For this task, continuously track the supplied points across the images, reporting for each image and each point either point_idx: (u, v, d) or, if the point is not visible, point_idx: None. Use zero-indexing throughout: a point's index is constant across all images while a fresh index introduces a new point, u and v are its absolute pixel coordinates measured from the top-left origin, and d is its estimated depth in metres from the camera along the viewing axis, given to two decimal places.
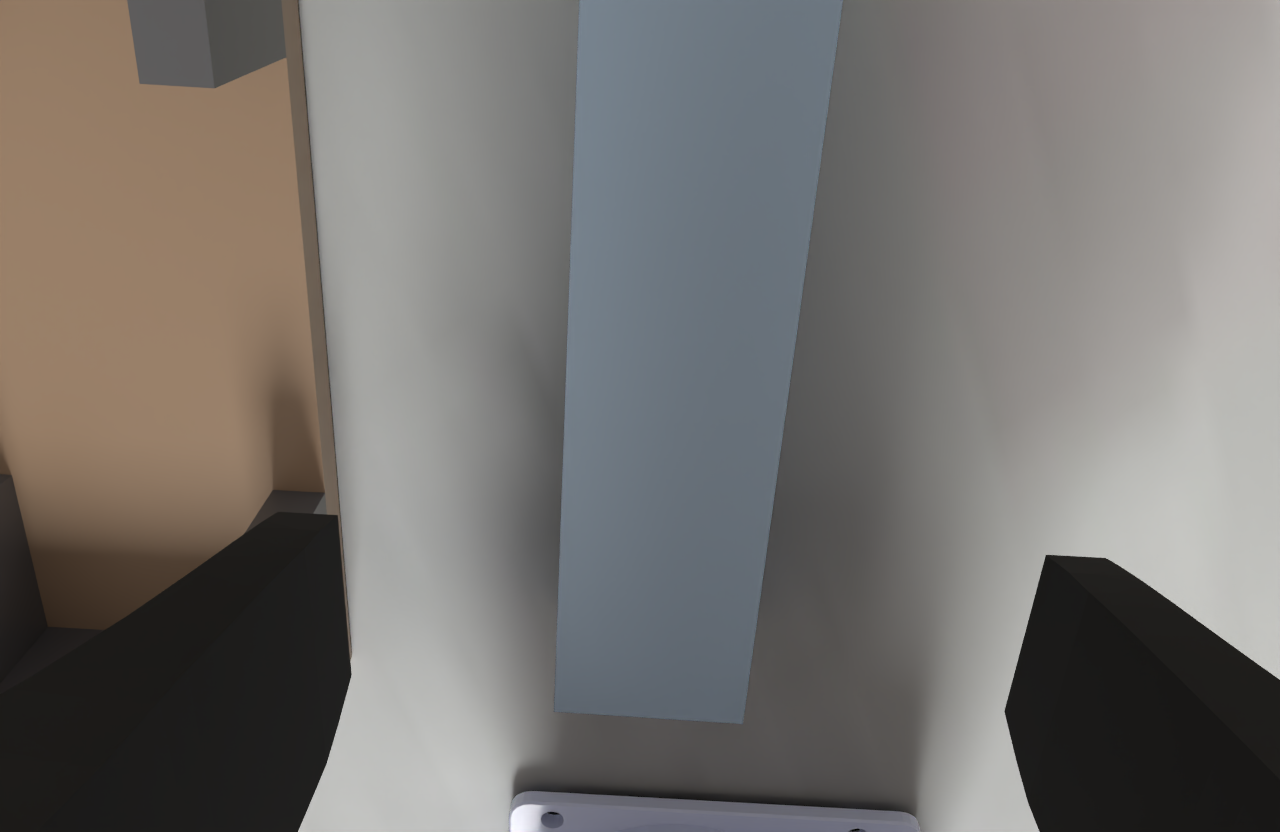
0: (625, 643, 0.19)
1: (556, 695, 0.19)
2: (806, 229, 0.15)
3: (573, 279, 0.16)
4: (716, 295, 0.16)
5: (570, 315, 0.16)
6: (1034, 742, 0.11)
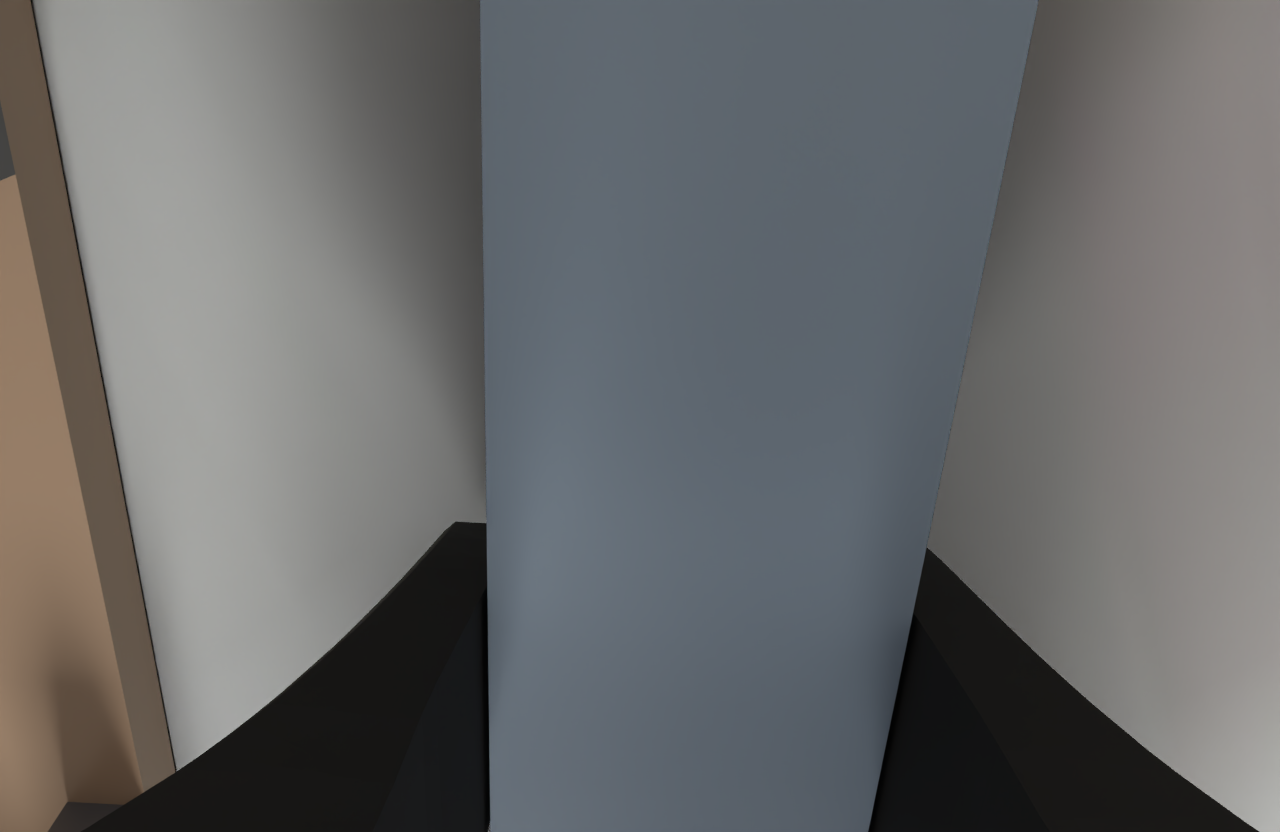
0: None
1: None
2: (923, 517, 0.08)
3: (494, 599, 0.09)
4: (754, 622, 0.09)
5: (492, 653, 0.09)
6: None
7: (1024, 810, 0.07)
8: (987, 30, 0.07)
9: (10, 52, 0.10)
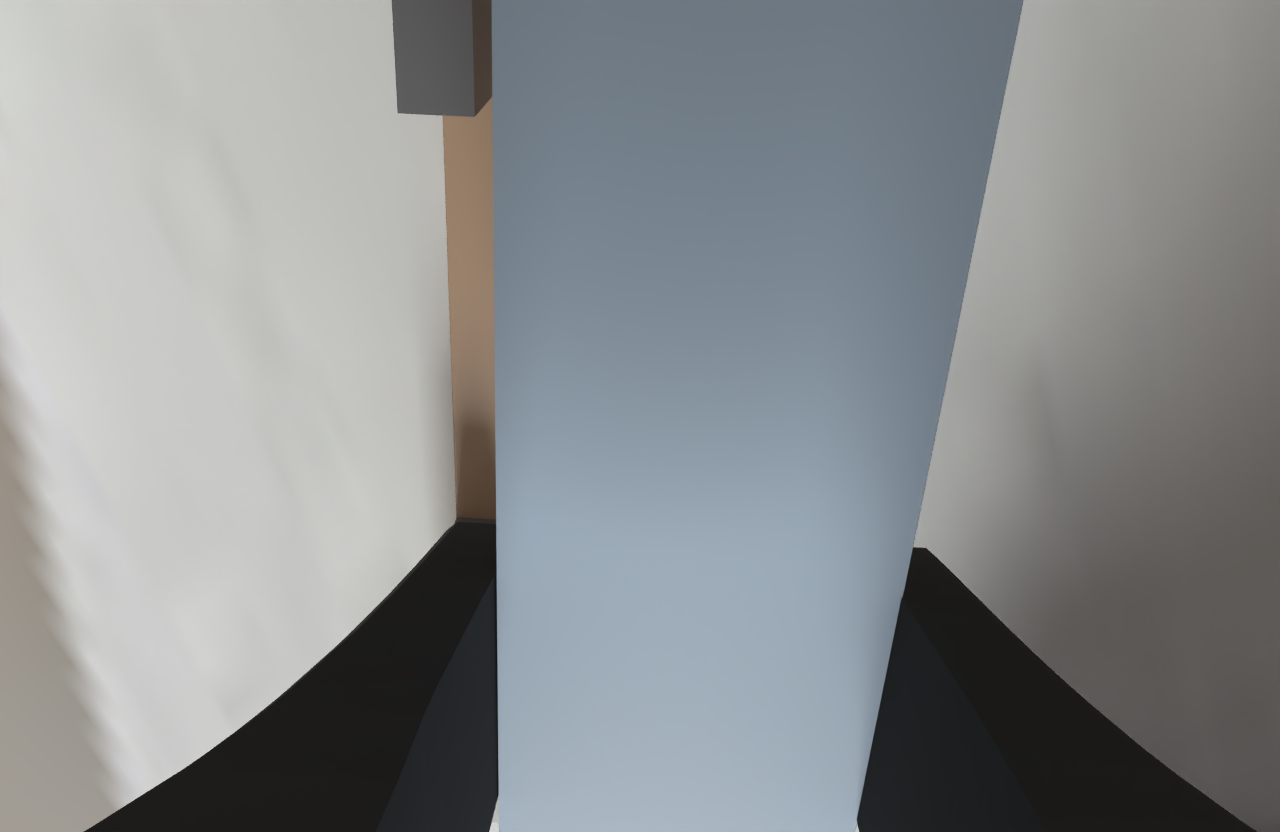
0: None
1: None
2: (914, 498, 0.09)
3: (503, 577, 0.09)
4: (753, 599, 0.09)
5: (501, 629, 0.09)
6: None
7: (1022, 809, 0.07)
8: (974, 35, 0.07)
9: None
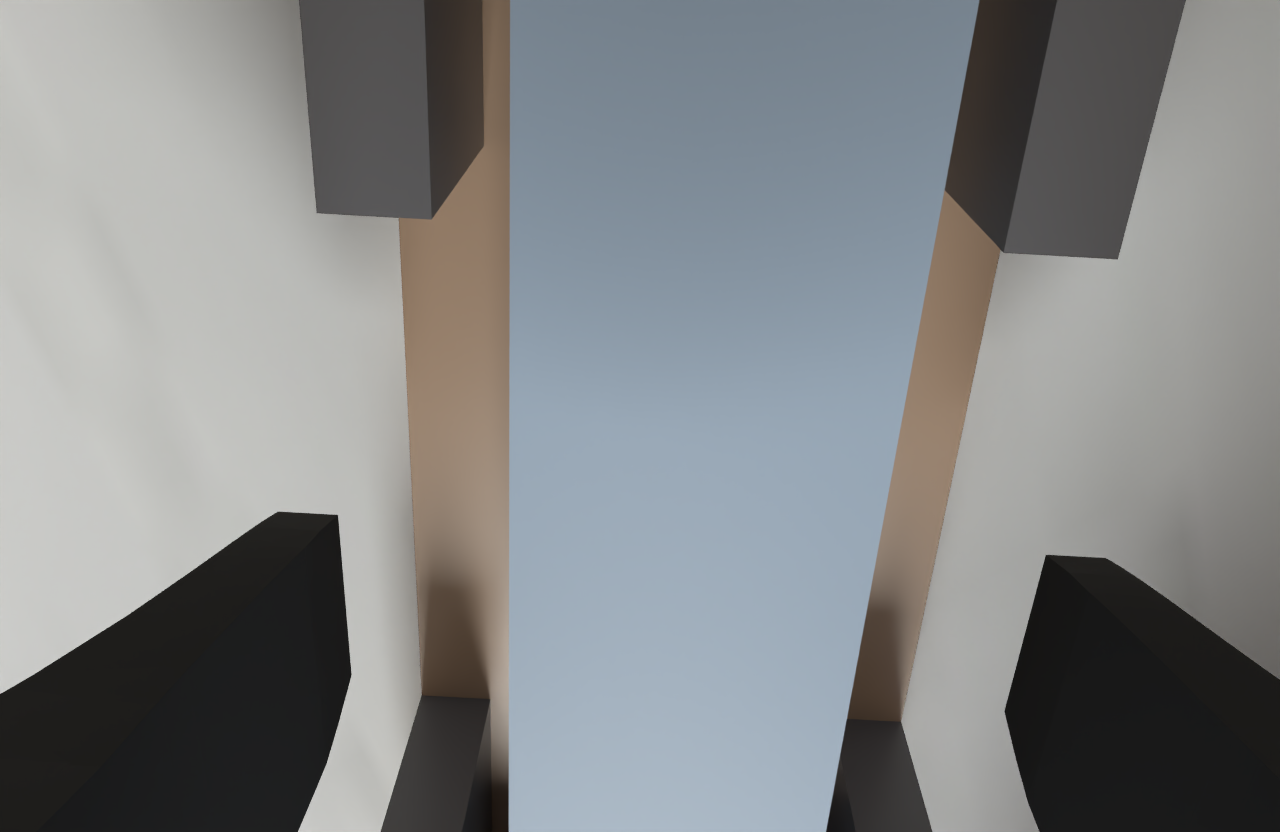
0: None
1: None
2: (890, 441, 0.10)
3: (515, 515, 0.10)
4: (743, 536, 0.10)
5: (513, 565, 0.10)
6: (1035, 742, 0.11)
7: None
8: (938, 15, 0.08)
9: None
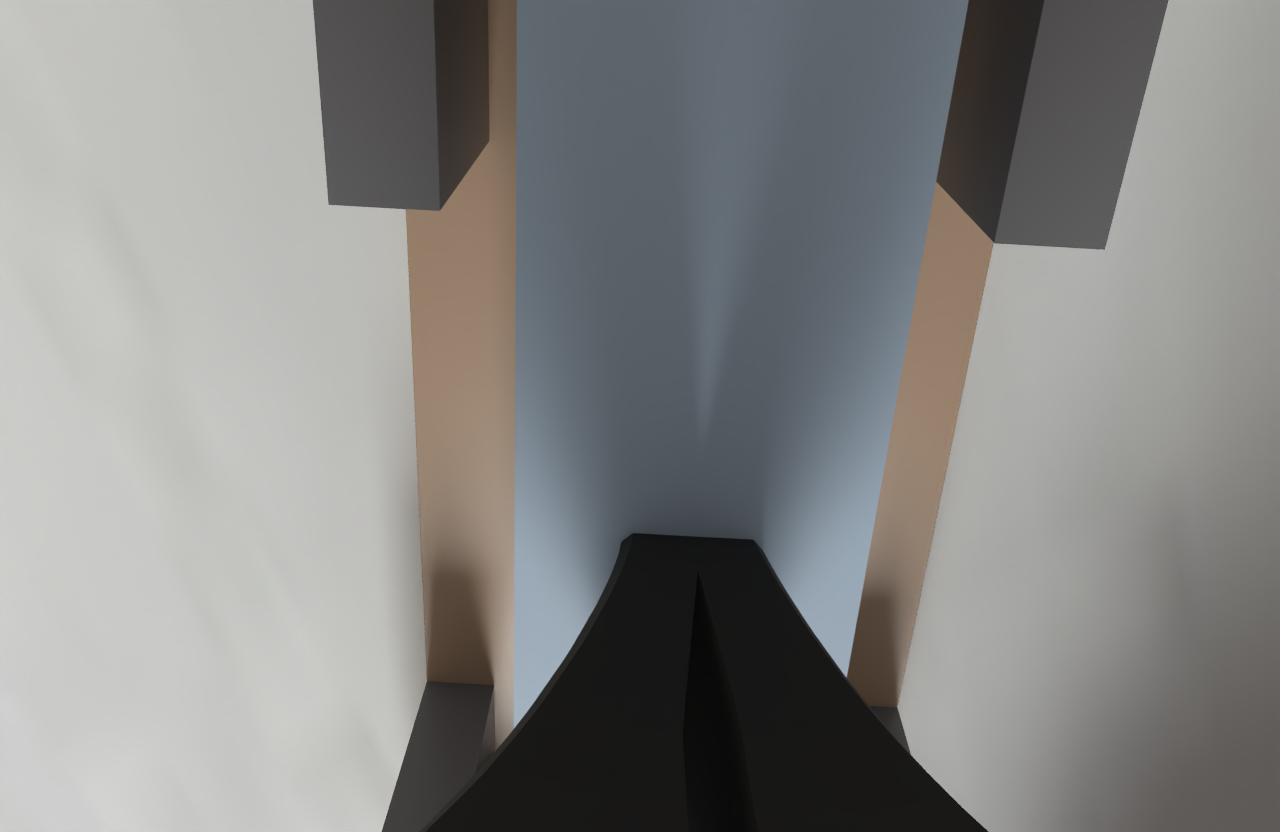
0: None
1: None
2: (884, 426, 0.10)
3: (520, 498, 0.10)
4: (742, 519, 0.10)
5: (518, 548, 0.11)
6: None
7: (747, 794, 0.07)
8: (930, 12, 0.08)
9: None
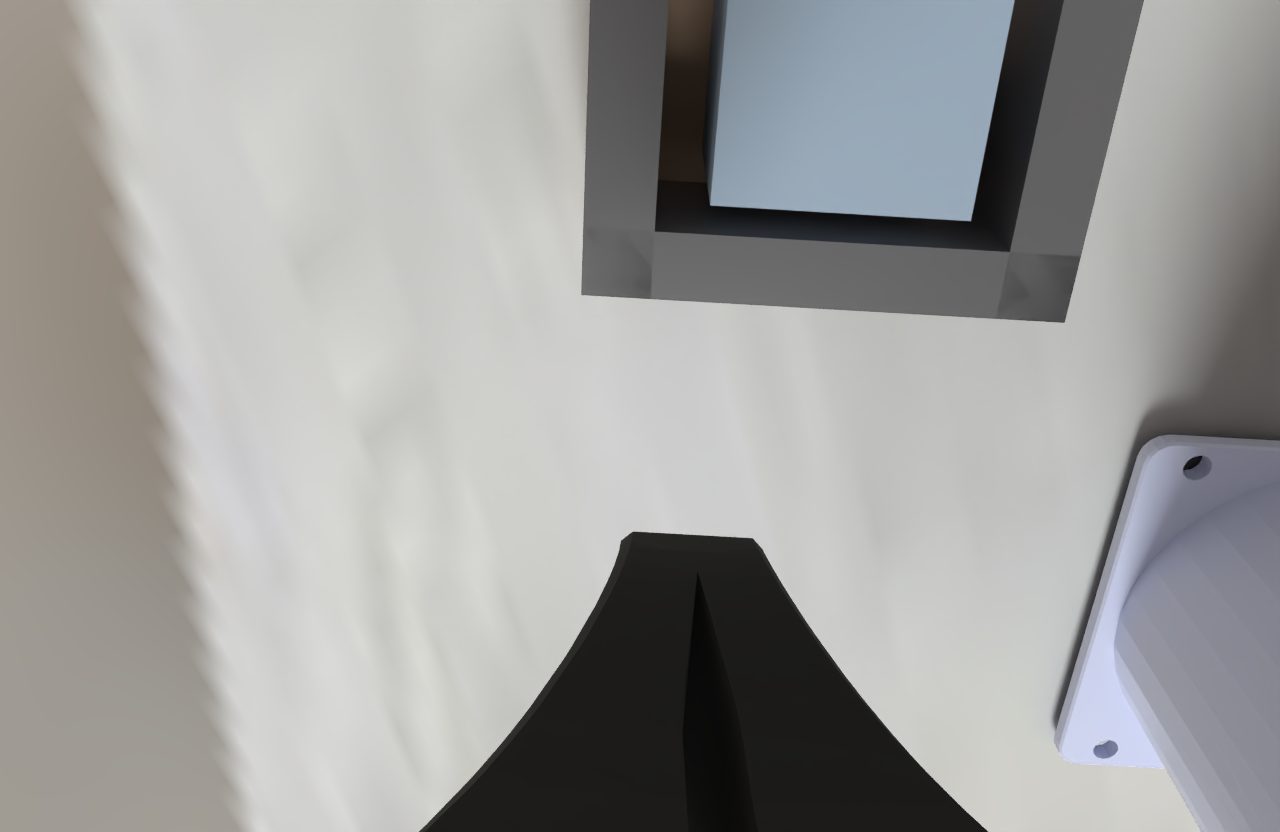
0: (818, 81, 0.13)
1: (715, 175, 0.14)
2: None
3: None
4: None
5: None
6: None
7: (747, 794, 0.07)
8: None
9: None
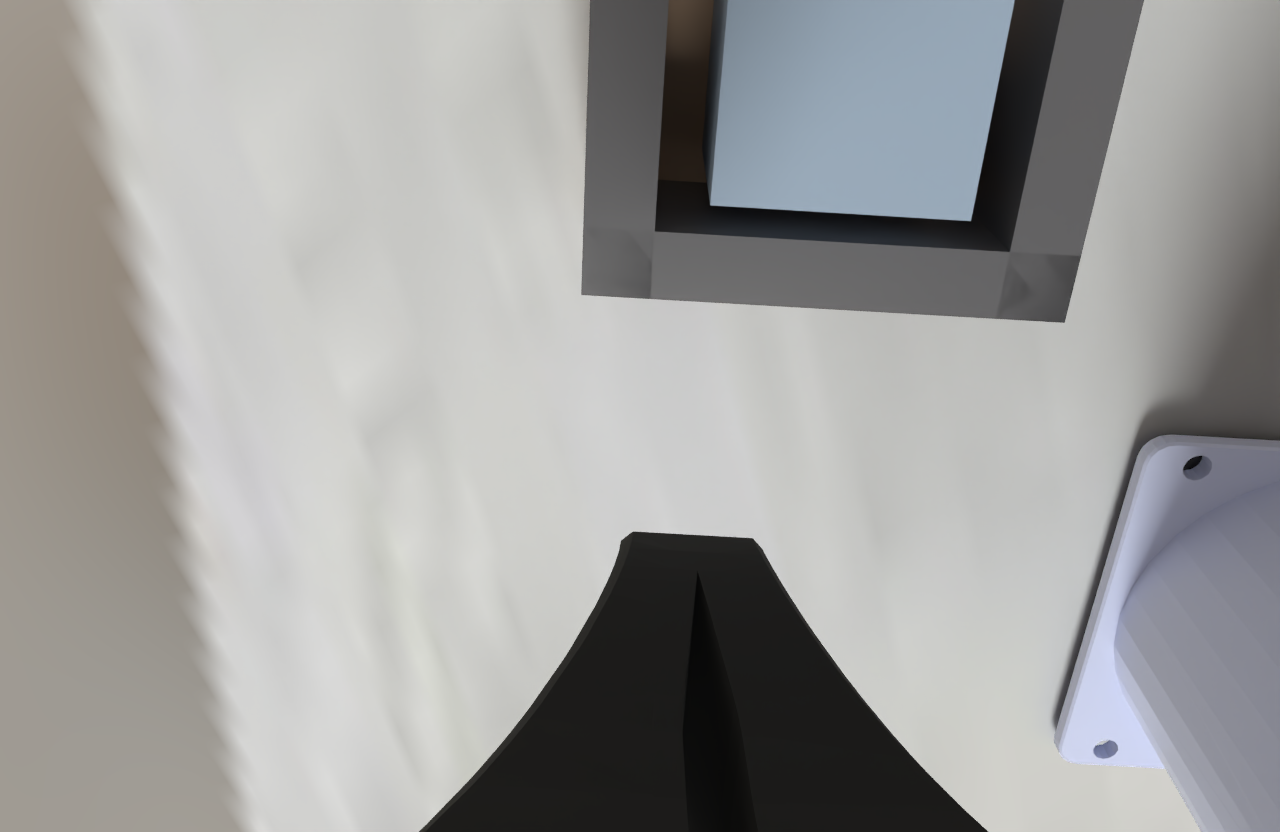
0: (818, 81, 0.13)
1: (715, 175, 0.14)
2: None
3: None
4: None
5: None
6: None
7: (749, 794, 0.07)
8: None
9: None
